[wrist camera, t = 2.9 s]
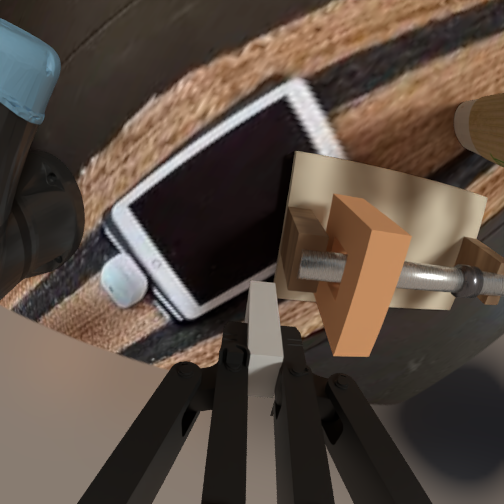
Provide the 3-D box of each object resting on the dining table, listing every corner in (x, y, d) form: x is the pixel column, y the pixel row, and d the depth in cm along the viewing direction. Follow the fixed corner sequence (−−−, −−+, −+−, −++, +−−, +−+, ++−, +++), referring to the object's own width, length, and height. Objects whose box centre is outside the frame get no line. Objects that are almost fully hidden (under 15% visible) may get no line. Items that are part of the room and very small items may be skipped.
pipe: (293, 272, 27) (298, 291, 24) (300, 237, 25) (306, 253, 22) (490, 290, 28) (505, 304, 25) (500, 265, 26) (516, 278, 24)
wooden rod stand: (271, 292, 36) (276, 342, 28) (294, 150, 30) (311, 161, 21) (445, 305, 37) (477, 343, 29) (482, 195, 31) (528, 217, 23)
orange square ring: (312, 290, 31) (333, 356, 22) (333, 193, 27) (372, 229, 18) (340, 292, 31) (368, 356, 22) (363, 198, 27) (411, 236, 18)
